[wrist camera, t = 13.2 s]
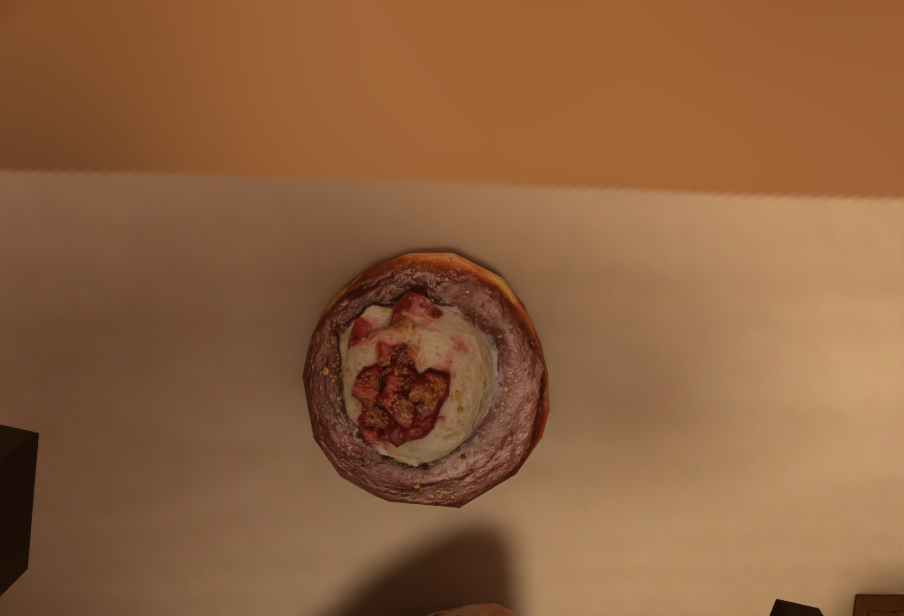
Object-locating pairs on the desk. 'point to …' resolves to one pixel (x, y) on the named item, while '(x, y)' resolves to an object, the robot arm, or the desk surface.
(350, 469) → the pastry
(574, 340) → the desk surface
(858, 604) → the cabinet
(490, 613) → the seashell
